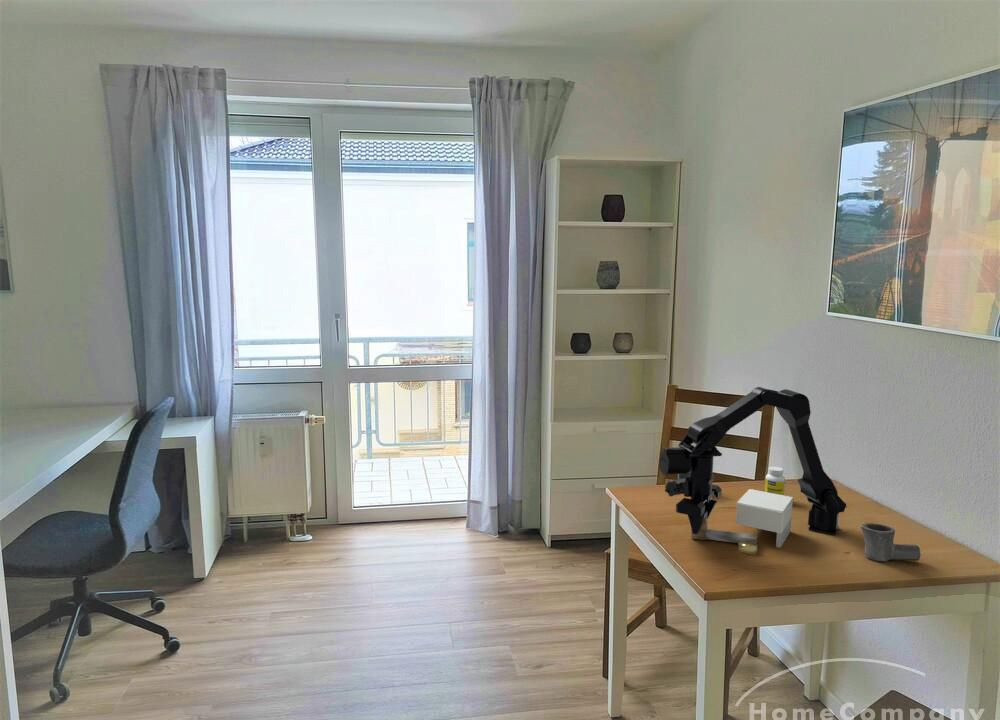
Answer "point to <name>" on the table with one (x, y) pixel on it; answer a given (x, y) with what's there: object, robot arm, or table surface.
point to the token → (747, 547)
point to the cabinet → (766, 513)
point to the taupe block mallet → (721, 535)
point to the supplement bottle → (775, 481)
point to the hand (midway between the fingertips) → (697, 530)
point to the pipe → (886, 544)
